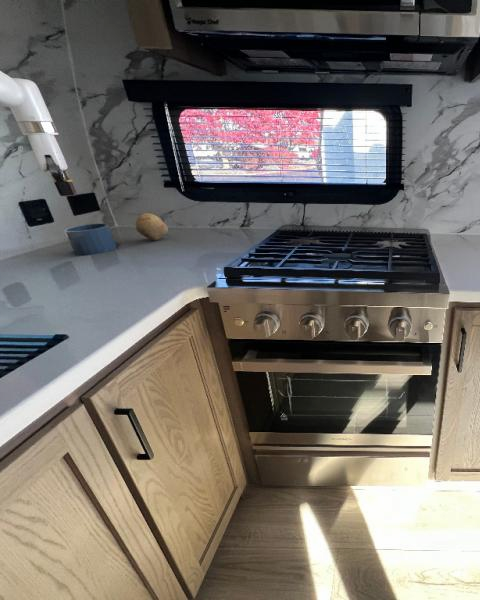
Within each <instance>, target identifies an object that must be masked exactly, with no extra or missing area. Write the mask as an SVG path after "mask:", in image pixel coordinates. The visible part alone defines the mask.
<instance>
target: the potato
mask: <svg viewBox="0 0 480 600" xmlns="http://www.w3.org/2000/svg"><path fill="white" fill-rule="evenodd" d="M135 229H136V232H138V233H139V234H140V235H141V236H143V237H145V238H147V239H148V240H151V241H158V240H161V239H162V237H164V236H165V235H166V234H168V231H169V228H168V226H167V224H166V223H165V222H164V221H163V220H162V219H161V218H160V217H158V216H157V215H155V214H153V213H150V212H149V213H148V212H146V213H141V214H140V215H139V216H138V217H137V218H136V221H135Z"/></svg>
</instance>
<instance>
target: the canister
mask: <svg viewBox="0 0 480 600" xmlns="http://www.w3.org/2000/svg"><path fill="white" fill-rule="evenodd" d="M63 231H64V234H65V236H66V238H67V240H68V242H69V244H70V246H71V248H72V250H73V252H74V254H75V255H76V256H79V257H80V256H83V257H84V256H92V255H93V256H94V255H99V254H104V253H108V252H112V251H114V250H117V248H118V245H117V242H116V240H115V238H114V234H113V233H112V230H111V227H110V226H109V224H108V223H104V222H103V223H98V222H97V223H89V224H82V225H76V226H72V227H68V228H66V229H64V230H63Z"/></svg>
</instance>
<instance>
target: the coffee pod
mask: <svg viewBox="0 0 480 600" xmlns="http://www.w3.org/2000/svg"><path fill="white" fill-rule="evenodd" d="M71 181H72V182H71ZM67 182H69V184H70V186H71V188H72V190H73V193H74V195H73V196H77V191H75V190H76V188H75V186H74V184H73V185H72V183H73V179H71V178H70V179H68V180H67ZM52 183H54V181H53V180H52ZM73 186H74V187H73ZM74 188H75V189H74ZM70 196H72V195H70Z"/></svg>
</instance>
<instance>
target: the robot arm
mask: <svg viewBox="0 0 480 600" xmlns="http://www.w3.org/2000/svg"><path fill="white" fill-rule="evenodd" d="M0 108H10V110H11V112H12V115H13V117H14V119H15V121H16V123H17V125H18V127H19V130H20V131H21V133H22V135H23V136H27V138H28V140H29V144H30V146H31V148H32V151H33V154H34V156H35V158H36V161H37V163H38V165H39V168H40V170H41V171H42V172H44V173H47V172H48V173H50V176H51V179H52V182H53V181H54V182H53V183H54V185H55V188H56V190H57V193H58V194H59V196H60V197H69V196H70V195H71V196H75V195H74V193H73V190H72V188H71V186H70V184H69V182H67V180H68V179H71V178H70V175H69V174H68V171H67V170H68V167H69V166H68V163H67V162H66V158H65V156H64V154H63V152H62V149H61V148H60V144H59V143H58V141H57V138H56V137H55V136H58V135H60V134H59V133H58V129H57V127H56V126H55V123H54V121H53V119H52V116H51V113H50V112H49V109H48V107H47V104H46V103H45V100H44V97H43V95H42V93H41V91H40V89H39V87H38V85H37V84H36V82H34V81H32V80H30V79H26V78H19V77H11V76H9V75H8V74H6V73H4V71H1V70H0ZM71 182H72V185H73V187H74V189H75V191H76V188H75V186H74V183H73V180H72V181H71ZM76 192H77V191H76Z"/></svg>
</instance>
